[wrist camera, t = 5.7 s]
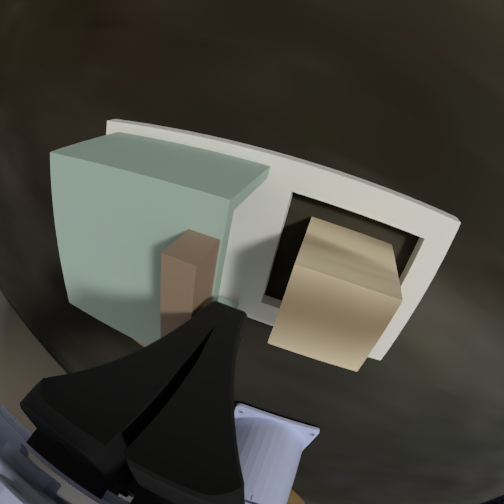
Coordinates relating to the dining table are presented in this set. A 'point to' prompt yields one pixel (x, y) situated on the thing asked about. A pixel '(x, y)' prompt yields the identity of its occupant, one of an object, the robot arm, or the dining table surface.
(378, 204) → the board
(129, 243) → the pale green open box
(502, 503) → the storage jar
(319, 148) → the dining table surface
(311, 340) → the block
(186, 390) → the robot arm
